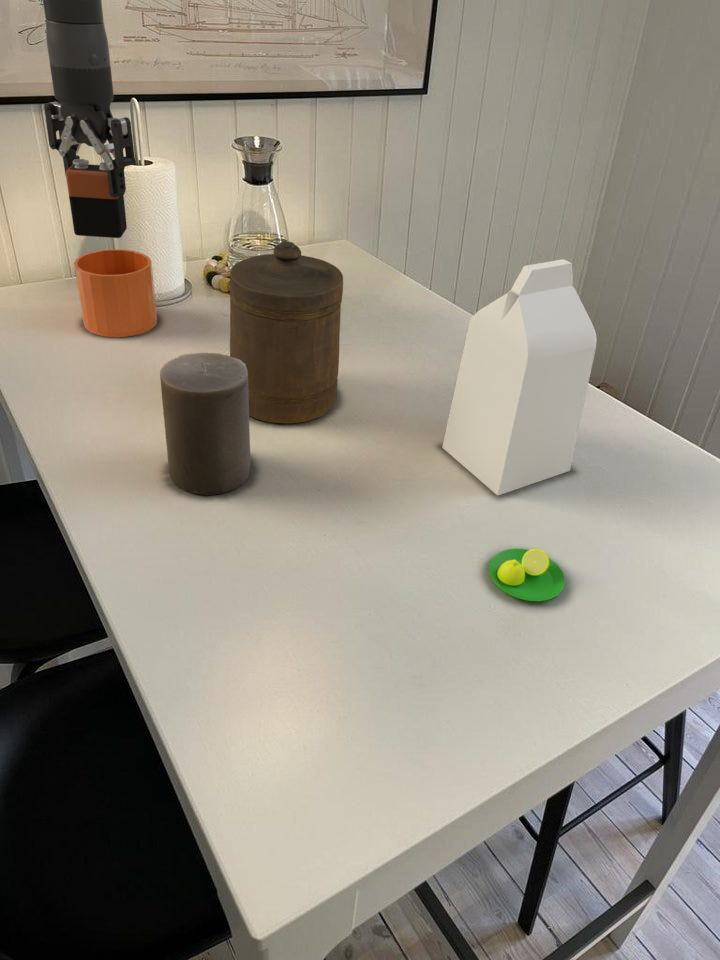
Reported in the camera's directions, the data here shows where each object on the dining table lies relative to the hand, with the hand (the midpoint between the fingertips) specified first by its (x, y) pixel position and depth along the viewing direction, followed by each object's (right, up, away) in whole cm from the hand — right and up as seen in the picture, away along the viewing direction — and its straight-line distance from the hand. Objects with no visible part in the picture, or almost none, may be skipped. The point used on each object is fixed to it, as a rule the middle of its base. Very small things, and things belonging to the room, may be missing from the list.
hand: (96, 189), depth 108 cm
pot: (-1, -16, +15) cm, 22 cm away
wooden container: (+27, -30, -1) cm, 40 cm away
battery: (-1, -5, +4) cm, 6 cm away
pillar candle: (+20, -41, -16) cm, 48 cm away
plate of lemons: (+55, -52, -28) cm, 81 cm away
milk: (+57, -39, -10) cm, 69 cm away
